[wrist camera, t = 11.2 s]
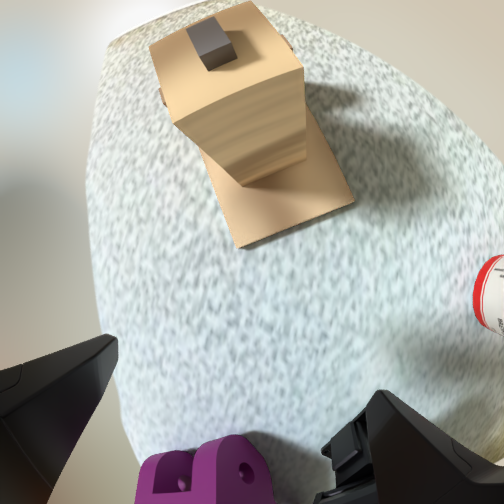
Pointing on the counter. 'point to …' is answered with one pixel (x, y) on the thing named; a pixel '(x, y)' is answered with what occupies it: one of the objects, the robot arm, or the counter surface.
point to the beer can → (490, 295)
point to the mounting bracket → (207, 475)
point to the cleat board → (281, 190)
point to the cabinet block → (235, 91)
